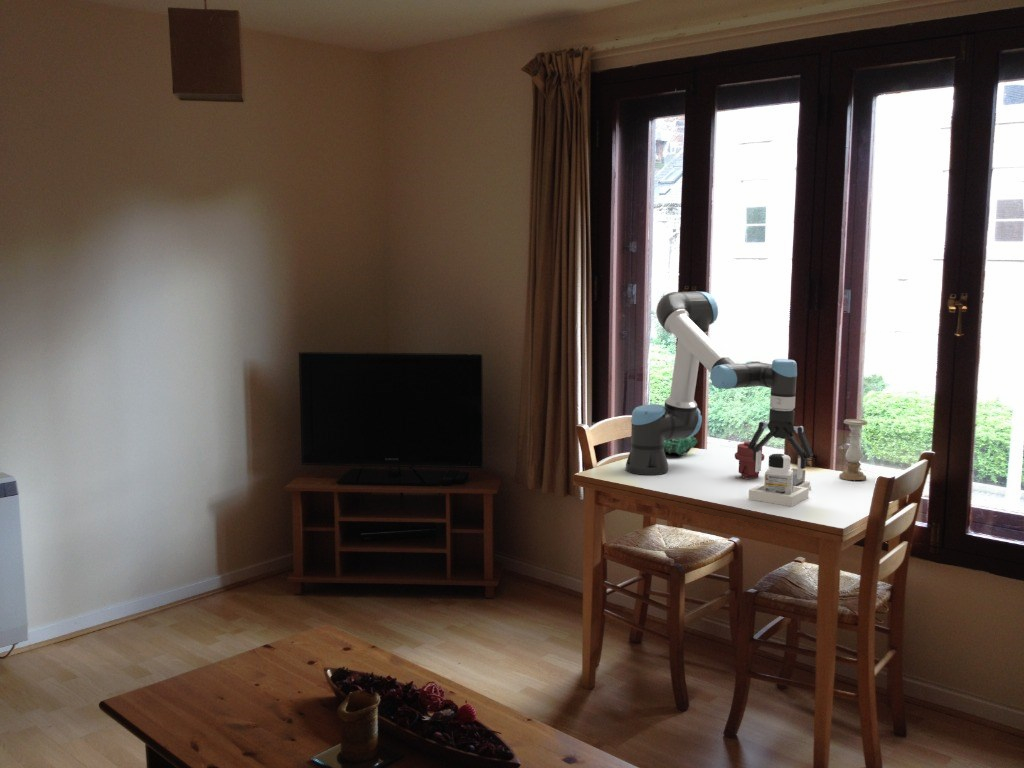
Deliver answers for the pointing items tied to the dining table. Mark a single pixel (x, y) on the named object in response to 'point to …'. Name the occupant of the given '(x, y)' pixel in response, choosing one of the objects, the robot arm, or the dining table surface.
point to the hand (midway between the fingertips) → (778, 474)
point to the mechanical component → (746, 461)
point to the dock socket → (780, 495)
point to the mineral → (679, 445)
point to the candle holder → (853, 451)
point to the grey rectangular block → (797, 481)
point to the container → (779, 475)
